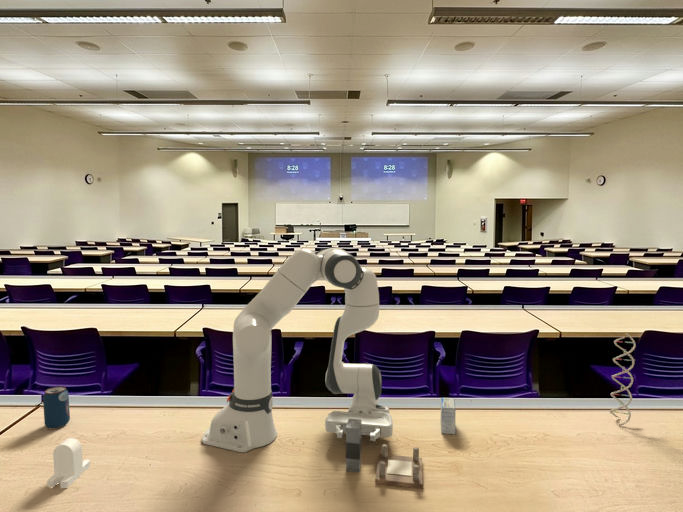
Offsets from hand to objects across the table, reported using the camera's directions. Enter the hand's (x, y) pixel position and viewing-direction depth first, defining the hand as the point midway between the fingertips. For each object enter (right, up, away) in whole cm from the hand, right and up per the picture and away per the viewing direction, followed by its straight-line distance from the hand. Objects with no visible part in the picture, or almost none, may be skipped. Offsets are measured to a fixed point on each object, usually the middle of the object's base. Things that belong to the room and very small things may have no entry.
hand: (356, 437), depth 122 cm
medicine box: (+30, -5, +18) cm, 35 cm away
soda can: (-97, -4, +19) cm, 99 cm away
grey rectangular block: (-1, -6, -4) cm, 8 cm away
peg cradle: (+11, -7, -7) cm, 15 cm away
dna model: (+89, -4, +22) cm, 92 cm away
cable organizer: (-76, -7, -9) cm, 76 cm away
